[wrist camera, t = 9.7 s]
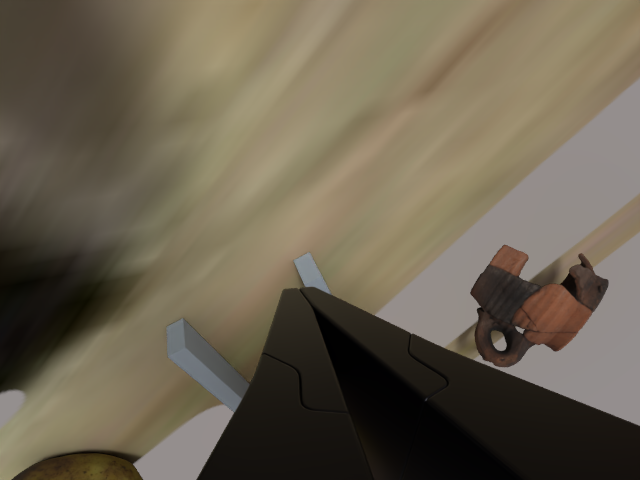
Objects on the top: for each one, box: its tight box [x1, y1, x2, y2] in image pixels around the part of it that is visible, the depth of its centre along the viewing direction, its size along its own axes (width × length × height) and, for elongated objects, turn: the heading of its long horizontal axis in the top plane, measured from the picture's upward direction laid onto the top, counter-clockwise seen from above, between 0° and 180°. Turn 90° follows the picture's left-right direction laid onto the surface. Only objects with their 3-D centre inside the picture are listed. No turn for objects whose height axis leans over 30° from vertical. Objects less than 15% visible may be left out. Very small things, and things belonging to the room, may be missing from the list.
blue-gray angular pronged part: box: [167, 252, 332, 412], centre depth 29 cm, size 18×11×7 cm, turn 21°
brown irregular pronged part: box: [470, 245, 608, 367], centre depth 34 cm, size 12×9×8 cm
